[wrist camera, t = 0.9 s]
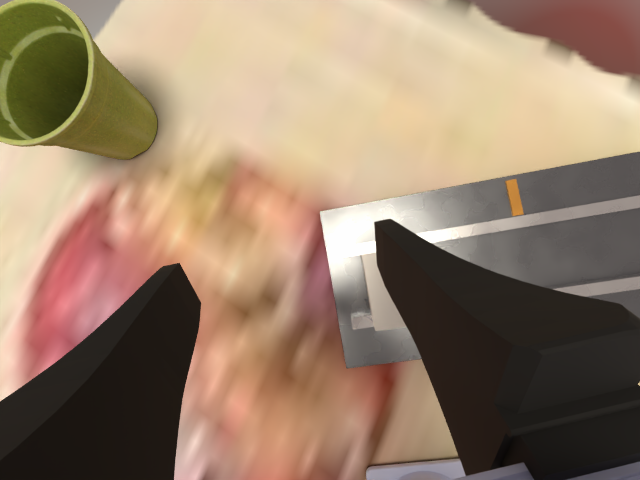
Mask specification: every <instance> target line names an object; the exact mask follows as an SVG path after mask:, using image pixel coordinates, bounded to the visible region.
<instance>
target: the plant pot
mask: <svg viewBox="0 0 640 480" xmlns="http://www.w3.org/2000/svg"><path fill="white" fill-rule="evenodd" d="M156 132H157V117H156V115H155V112H154V110H153V108H152V106H151V104H150V102H149V101H148V100H147V99H146V98H145V97H144V96H143V95H142V94H141V93H140V92H139V91H138V90H137V89H136V88H135V87H134V86H133V85H132V84H131V83H130V82H129V81H128V80H127V79H126V78H125V77H124V76H123V75H122V74H121V73H120V72H119V71H118V70H117V69H116V68H115V67H114V66H113V65H112V64H111V63H110V62H109V61H108V60H107V59H106V58H105V56H104V55H103V54H102V53H101V51H100V50H99V48H98V46H97V45H96V43H95V42H94V41H93V39H92V37H91V34H90V33H89V31H88V29H87V27H86V26H85V24H84V23H83V21H82V20H81V19H80V18H79V17H78V16H77V15H76V14H75V13H74V12H73V11H72V10H71V9H69V8H68V7H66V6H64V5H63V4H61V3H59V2H57V1H55V0H14V1H11V2H9V3H7V4H5V5H3V6H1V7H0V142H3V143H6V144H10V145H14V146H36V145H43V146H60V147H65V148H69V149H74V150H79V151H84V152H88V153H93V154H97V155H102V156H106V157H111V158H115V159H122V160H126V159H131V158H133V157H134V156H136V155H138V154H140V153H142V152H144V151H146V150H147V149H148V148H149V147H150V145H151V144H152V142H153V140H154V138H155V135H156Z"/></svg>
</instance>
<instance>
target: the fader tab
mask: <svg viewBox="0 0 640 480" xmlns="http://www.w3.org/2000/svg"><path fill="white" fill-rule="evenodd" d="M361 259H362V264H363V270H364V276H365V281H366V287H367V292H368V298H369V304H370V309H371V315H372V320H373V324H374V328H375V331H380V330H387V329H395V328H402V327H406V325H405V323H404V321H403V319H402V317H401V315H400V314H399V312H398V310H397V308H396V306H395V304H394V303H393V301H392V299H391V297H390V295H389V293H388V291H387V289H386V287H385V285H384V282H383V280H382V277H381V275H380V272H379V269H378V267H377V260H376V252H374V253H368V254H362V255H361Z"/></svg>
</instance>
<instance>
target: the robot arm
mask: <svg viewBox="0 0 640 480" xmlns="http://www.w3.org/2000/svg"><path fill="white" fill-rule="evenodd" d="M374 228H375V244H376V260H377V267H378V269H379V272H380V275H381V277H382V280H383V282H384V285H385V287H386V289H387V291H388V293H389V295H390V297H391V299H392V301H393V303H394V304H395V306H396V308H397V310H398V312H399V314H400V315H401V317H402V319H403V321H404V323H405V325H406V327H407V328H408V330H409V332H410V334H411V336H412V338H413V340H414V342H415V344H416V346H417V349H418V351H419V353H420V356H421V358H422V361H423V363H424V366H425V368H426V370H427V373H428V375H429V378H430V380H431V383H432V386H433V388H434V391H435V393H436V396H437V398H438V401H439V403H440V406H441V409H442V411H443V414H444V417H445V419H446V422H447V425H448V427H449V430H450V433H451V436H452V438H453V441H454V444H455V447H456V450H457V452H458V455H459V459H448V460H437V461H426V462H415V463H404V464H393V465H382V466H371V467H369V468H368V469H367V470H366V479H367V480H640V386H639V385H638V383H639V382H640V318H639V317H637V316H636V315H635V314H633V313H632V312H631V311H629V310H628V309H627V308H625V307H624V306H623V305H621V304H619V303H614V302H609V301H604V300H599V299H594V298H589V297H584V296H579V295H574V294H570V293H565V292H561V291H557V290H553V289H549V288H545V287H541V286H538V285H534V284H531V283H527V282H524V281H520V280H517V279H514V278H511V277H508V276H505V275H502V274H499V273H496V272H493V271H491V270H488V269H485V268H483V267H480V266H478V265H476V264H473V263H471V262H468V261H466V260H464V259H462V258H459V257H457V256H455V255H453V254H451V253H449V252H447V251H445V250H443V249H441V248H439V247H437V246H436V245H434V244H432V243H430V242H428V241H427V240H425V239H423V238H422V237H420V236H418V235H417V234H415V233H413V232H412V231H410V230H408V229H407V228H405V227H404V226H402V225H400V224H399V223H397V222H396V221H394V220H392V219H391V218H390V219H385V220H380V221H375V222H374ZM200 309H201V302H200V300H199V298H198V296H197V294H196V293H195V291H194V289H193V287H192V285H191V283H190V282H189V280H188V278H187V276H186V274H185V272H184V271H183V269H182V267H181V265H180V263H177V264H172V265H168V266H163V267H162V268H160V269H159V270H158V271H157V272H156V273H155V274H154V275H152V276H151V277H150V278H149V279H148V280H147V281H146V282H145V283H144V284H143V285H142V286H141V287H140V288H139V289H138V290H137V291H136V292H135V293H134V294H133V295H132V296H131V297H130V298H129V299H128V300H127V301H126V302H125V303H124V304H123V305H122V306H121V307H120V308H119V309H118V310H117V311H115V312H114V313H113V314H112V315H111V316H110V317H109V318H108V319H107V320H106V321H105V322H103V323H102V324H101V325H100V326H99V327H98V328H97V329H96V330H95V331H94V332H93V333H91V334H90V335H89V336H88V337H87V338H86V339H84V340H83V341H82V342H81V343H80V344H78V345H77V346H76V347H75V348H73V349H72V350H71V351H70V352H68V353H67V354H66V355H65V356H63V357H62V358H61V359H60V360H58V361H57V362H56V363H54V364H53V365H52V366H50V367H49V368H47V369H46V370H45V371H43V372H42V373H40V374H39V375H38V376H36V377H35V378H33V379H32V380H31V381H29V382H28V383H26V384H25V385H24V386H22V387H21V388H19V389H18V390H17V391H15V392H14V393H12V394H11V395H9V396H8V397H6V398H5V399H3V400H2V401H0V480H174V470H175V457H176V447H177V438H178V428H179V420H180V413H181V405H182V398H183V393H184V388H185V384H186V379H187V375H188V371H189V367H190V363H191V359H192V355H193V351H194V347H195V342H196V338H197V334H198V329H199V321H200Z"/></svg>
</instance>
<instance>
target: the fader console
mask: <svg viewBox="0 0 640 480" xmlns="http://www.w3.org/2000/svg"><path fill="white" fill-rule="evenodd" d="M320 216H321V222H322V227H323V233H324V239H325V245H326V251H327V257H328V263H329V268H330V274H331V280H332V286H333V292H334V298H335V304H336V310H337V315H338V321H339V327H340V333H341V339H342V345H343V351H344V357H345V362H346V368H354V367H362V366H370V365H377V364H385V363H393V362H401V361H409V360H417V359H422V358H421V356H420V353H419V351H418V349H417V346H416V344H415V342H414V340H413V338H412V336H411V334H410V332H409V330H408V328H407V327H402V328H395V329H387V330H380V331H375V328H374V324H373V320H372V315H371V309H370V304H369V298H368V292H367V287H366V281H365V276H364V270H363V264H362V259H361V255H362V254H368V253H374V252H376V244H375V228H374V222H375V221H380V220H385V219H390V218H391V219H392V220H394V221H396V222H397V223H399V224H400V225H402V226H404V227H405V228H407V229H408V230H410V231H412V232H413V233H415V234H417V235H418V236H420V237H422V238H423V239H425V240H427V241H428V242H430V243H432V244H434V245H436V246H437V247H439V248H441V249H443V250H445V251H447V252H449V253H451V254H453V255H455V256H457V257H459V258H462V259H464V260H466V261H468V262H471V263H473V264H476V265H478V266H480V267H483V268H485V269H488V270H491V271H493V272H496V273H499V274H502V275H505V276H508V277H511V278H514V279H517V280H520V281H524V282H527V283H531V284H534V285H538V286H541V287H545V288H549V289H553V290H557V291H561V292H565V293H570V294H574V295H579V296H584V297H589V298H594V299H599V300H604V301H609V302H614V303H619V304H621V305H623V306H624V307H625V308H627V309H628V310H629V311H631V312H632V313H633V314H635V315H636V316H637V317H639V318H640V152H636V153H630V154H625V155H620V156H614V157H609V158H604V159H598V160H593V161H588V162H582V163H577V164H572V165H566V166H561V167H555V168H550V169H545V170H539V171H534V172H529V173H523V174H518V175H513V176H507V177H502V178H497V179H491V180H486V181H481V182H475V183H470V184H465V185H459V186H454V187H449V188H443V189H438V190H433V191H427V192H422V193H417V194H411V195H406V196H401V197H395V198H390V199H384V200H379V201H374V202H368V203H363V204H358V205H352V206H347V207H342V208H336V209H331V210H326V211H320Z"/></svg>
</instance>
